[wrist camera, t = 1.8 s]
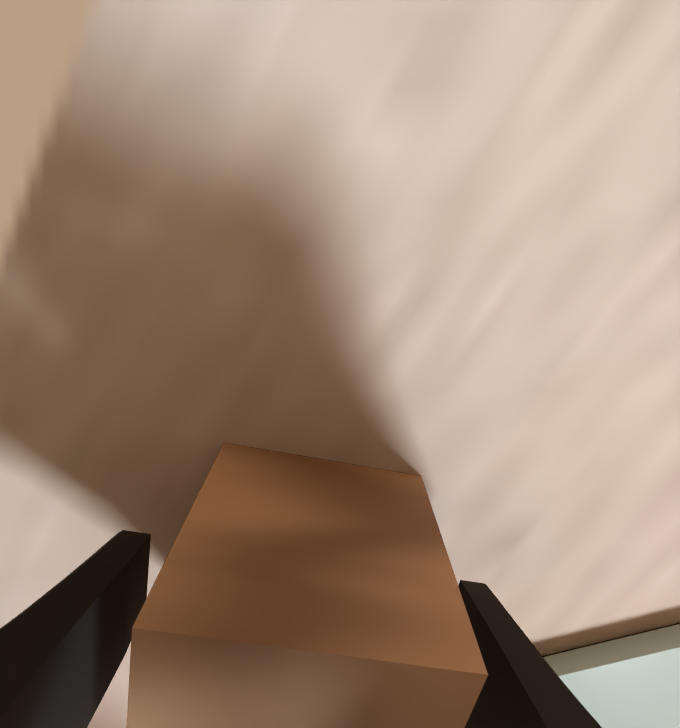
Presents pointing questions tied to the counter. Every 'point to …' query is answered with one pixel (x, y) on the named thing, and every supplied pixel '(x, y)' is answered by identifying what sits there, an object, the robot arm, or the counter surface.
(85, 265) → the counter surface
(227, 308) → the counter surface
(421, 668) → the walnut cube
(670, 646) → the ceramic tile
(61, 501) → the counter surface
